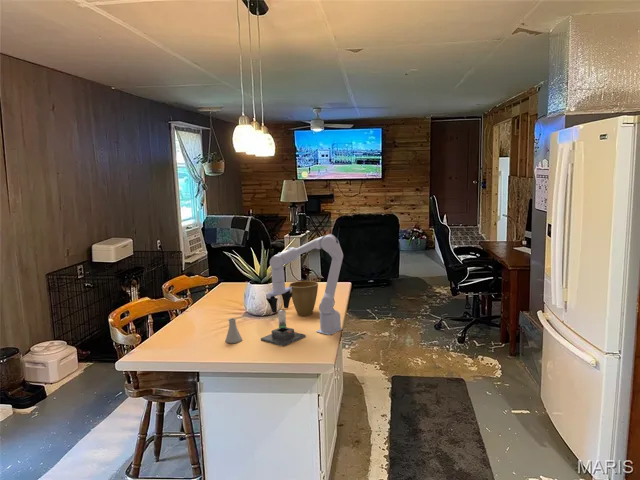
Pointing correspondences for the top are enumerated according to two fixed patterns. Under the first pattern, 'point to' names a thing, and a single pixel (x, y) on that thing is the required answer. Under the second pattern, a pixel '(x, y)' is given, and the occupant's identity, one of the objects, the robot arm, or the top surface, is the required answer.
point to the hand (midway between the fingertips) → (280, 310)
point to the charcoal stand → (283, 336)
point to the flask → (233, 332)
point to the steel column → (282, 318)
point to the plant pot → (304, 296)
